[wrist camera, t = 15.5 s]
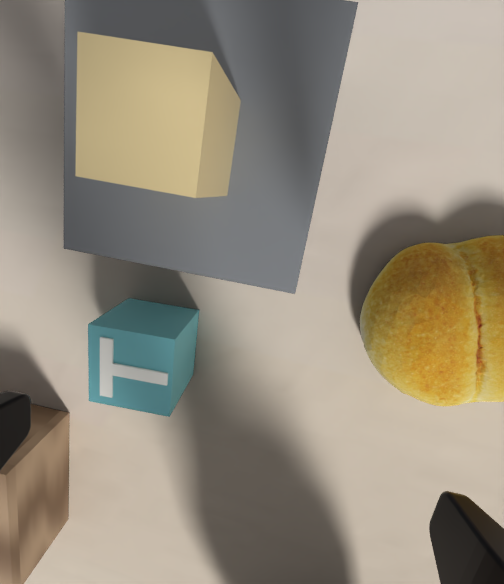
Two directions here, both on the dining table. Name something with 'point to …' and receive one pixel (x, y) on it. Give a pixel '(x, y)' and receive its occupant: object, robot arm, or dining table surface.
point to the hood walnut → (34, 494)
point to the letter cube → (142, 355)
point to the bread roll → (440, 321)
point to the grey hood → (200, 131)
